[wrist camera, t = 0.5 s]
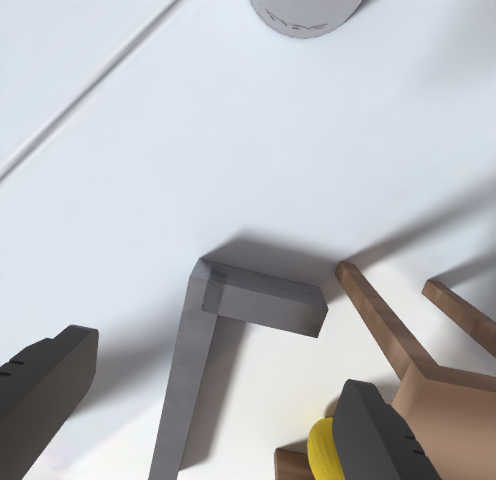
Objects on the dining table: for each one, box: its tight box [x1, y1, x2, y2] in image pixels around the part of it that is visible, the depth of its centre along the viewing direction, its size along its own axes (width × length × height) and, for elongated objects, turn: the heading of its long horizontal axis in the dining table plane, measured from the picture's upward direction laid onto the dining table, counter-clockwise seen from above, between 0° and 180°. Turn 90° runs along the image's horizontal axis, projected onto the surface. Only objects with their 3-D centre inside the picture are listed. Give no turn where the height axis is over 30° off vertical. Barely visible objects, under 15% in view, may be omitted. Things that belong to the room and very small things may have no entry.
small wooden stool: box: [274, 262, 496, 480], centre depth 24 cm, size 26×10×14 cm, turn 168°
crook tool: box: [148, 258, 328, 480], centre depth 30 cm, size 12×29×4 cm, turn 166°
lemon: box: [307, 418, 345, 480], centre depth 29 cm, size 6×6×8 cm
